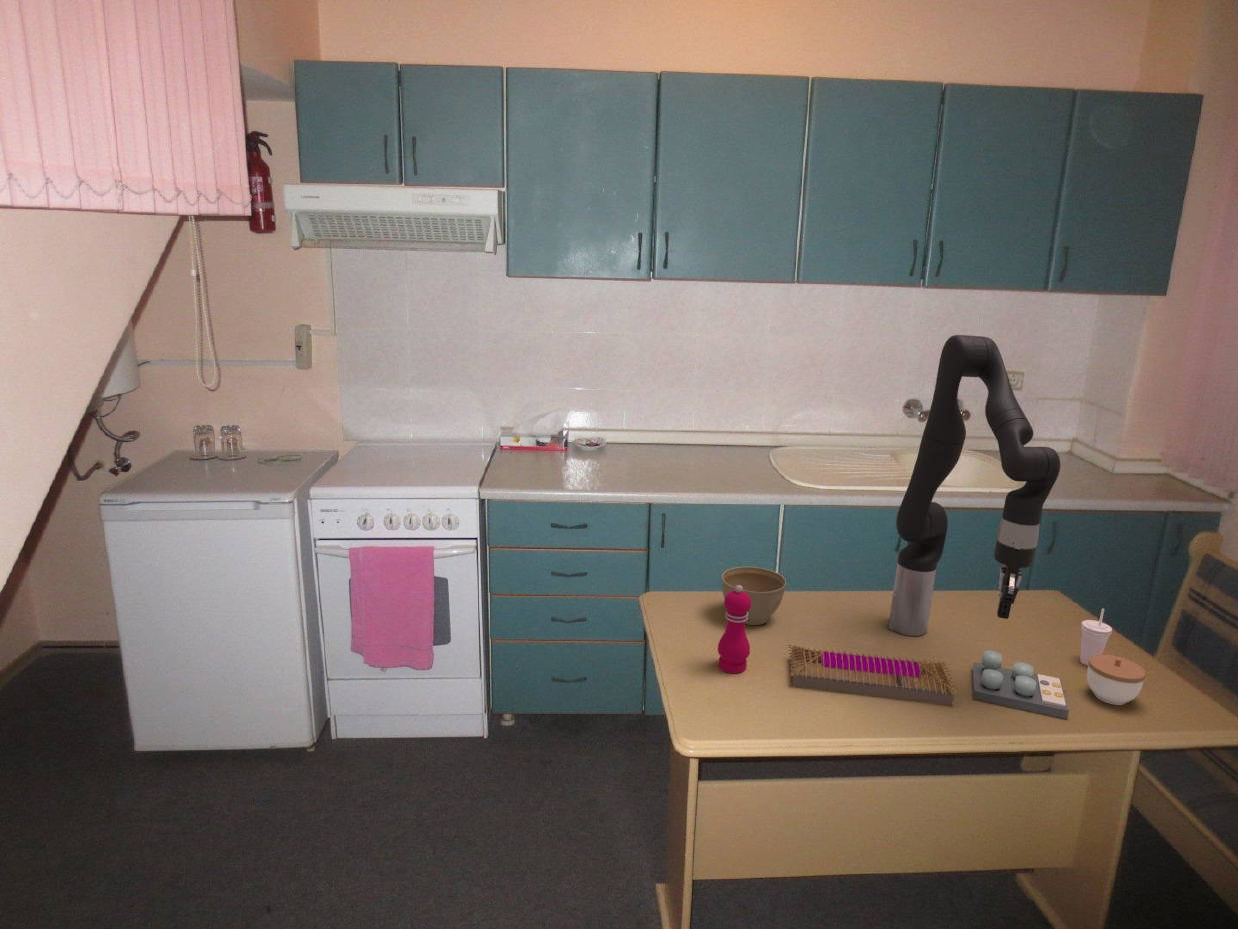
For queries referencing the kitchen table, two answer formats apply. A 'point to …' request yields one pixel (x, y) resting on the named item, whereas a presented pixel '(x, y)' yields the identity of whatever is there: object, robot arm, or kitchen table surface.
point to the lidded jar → (1114, 678)
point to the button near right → (1025, 686)
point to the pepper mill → (735, 632)
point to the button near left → (992, 679)
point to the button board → (1043, 701)
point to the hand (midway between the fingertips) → (1002, 616)
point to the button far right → (1022, 670)
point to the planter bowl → (756, 590)
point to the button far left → (991, 660)
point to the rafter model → (874, 666)
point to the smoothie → (1093, 638)
